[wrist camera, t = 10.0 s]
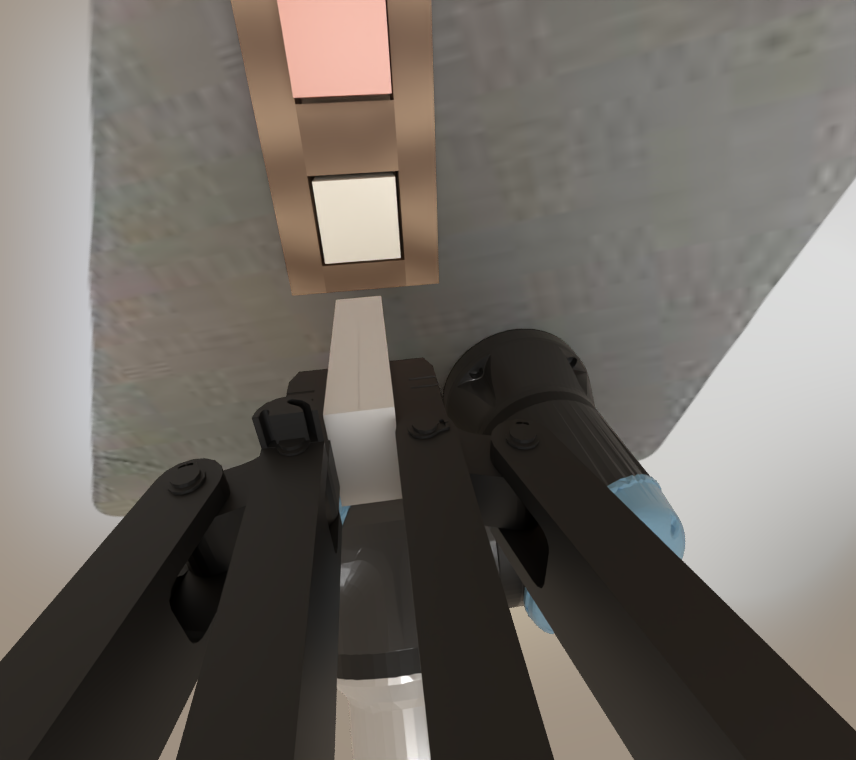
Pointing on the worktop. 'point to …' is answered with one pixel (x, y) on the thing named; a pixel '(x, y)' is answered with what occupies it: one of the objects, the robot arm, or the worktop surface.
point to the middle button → (336, 47)
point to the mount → (347, 147)
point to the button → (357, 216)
